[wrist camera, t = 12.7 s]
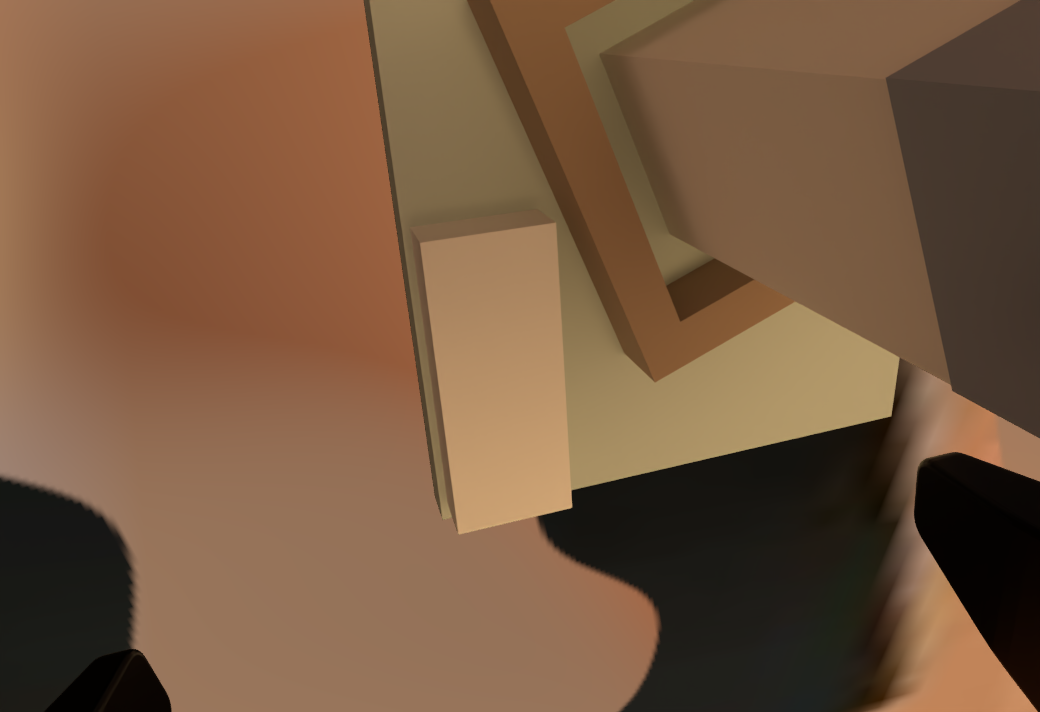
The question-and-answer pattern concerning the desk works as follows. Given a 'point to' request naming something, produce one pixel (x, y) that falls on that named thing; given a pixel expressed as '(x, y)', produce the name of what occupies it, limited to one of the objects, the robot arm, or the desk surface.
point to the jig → (599, 241)
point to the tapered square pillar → (860, 168)
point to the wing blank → (496, 364)
